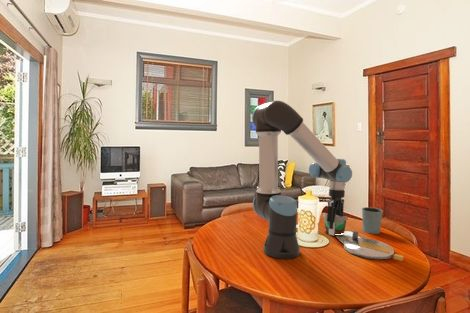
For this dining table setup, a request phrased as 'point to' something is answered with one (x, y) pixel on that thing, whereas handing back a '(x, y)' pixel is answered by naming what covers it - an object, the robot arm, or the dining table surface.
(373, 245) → the grey plate
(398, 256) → the index pointer
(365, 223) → the grey cup
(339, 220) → the food container
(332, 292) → the dining table surface
